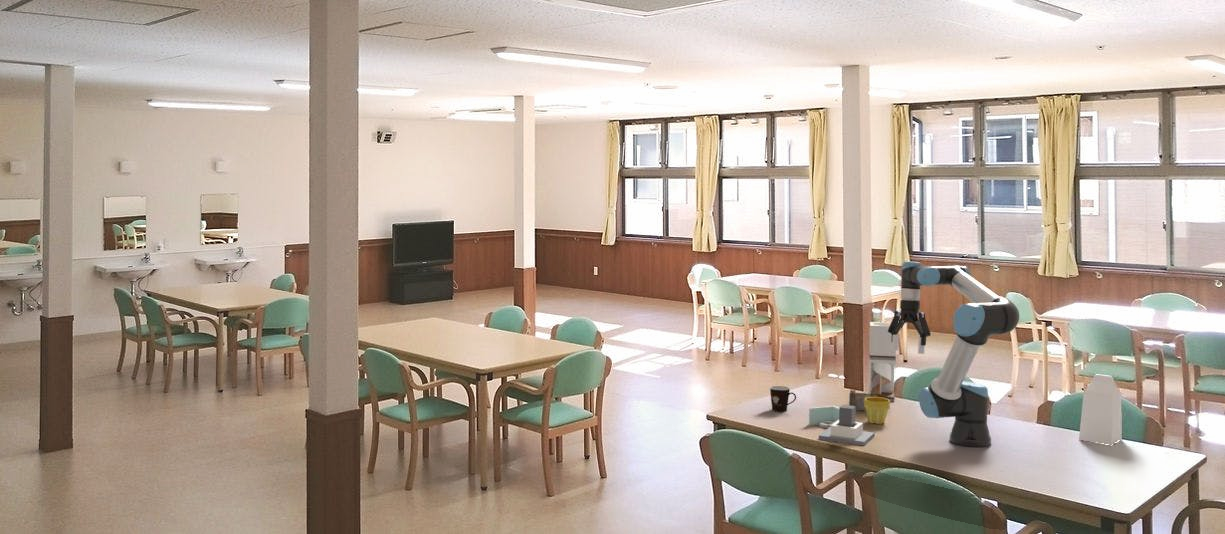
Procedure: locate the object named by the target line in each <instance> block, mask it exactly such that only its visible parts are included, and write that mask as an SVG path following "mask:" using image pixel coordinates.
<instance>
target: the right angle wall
mask: <svg viewBox="0 0 1225 534" xmlns="http://www.w3.org/2000/svg"><path fill="white" fill-rule="evenodd" d="M837 420H839V407H838V406H837V405H827V406H819V407H809V409H808V425H809V426H814V425H815V426H816V425H818V426H819V427H820V428H821V429H828V428H829V427H831V425H832V424H833V423H835V422H836V421H837Z"/></svg>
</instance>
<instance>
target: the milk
mask: <svg viewBox="0 0 1225 534" xmlns="http://www.w3.org/2000/svg"><path fill="white" fill-rule="evenodd" d="M1080 417H1081V418H1080V425H1079V435H1078V441H1081V440H1084V441H1083V442H1086V441H1091V442H1098V443H1104V444H1109V445H1112V444H1114V443H1115V442H1117V441H1118V440H1122V441H1123V439H1122V438H1123V437H1122V436H1123V435H1122V434H1123V432H1122V431H1123V428H1122V424H1123V419H1122V417H1123V416H1122V392H1121V390H1120V389H1119V387H1118V386H1117V385H1116V383H1115V380H1114V378H1113V375H1107V374H1102V373H1101V374H1100V373H1099V374H1098V373H1095V374H1094V376H1093V377H1092V378H1091V381H1090V382H1089V384H1088V385H1087V387H1086V389H1085V391H1084V392H1083V397H1082V405H1081V415H1080ZM1091 442H1090V443H1091Z"/></svg>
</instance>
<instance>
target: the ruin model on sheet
mask: <svg viewBox="0 0 1225 534" xmlns="http://www.w3.org/2000/svg"><path fill="white" fill-rule="evenodd" d="M849 391H850V392H849V395H848V397H849V402H848V404H849V405H850V406H856V409H855V411H860V410H865V411H864V412H866V407H865V406H864V399H865V398H867V397H876V394H868V393H865V392H864V393H863V392H856V390H855V389H850V390H849Z"/></svg>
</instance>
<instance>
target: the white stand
mask: <svg viewBox="0 0 1225 534" xmlns="http://www.w3.org/2000/svg"><path fill="white" fill-rule="evenodd" d="M890 324H891V322H882V321H881V322H878V321H877V322H876V321H875V322H874V321H870V322H869V351H868V354H869V355H868V356H869V357H868V384H867V385H868V389H867V391H868V392H867V394H876V397H881V398H886V399H889V400H890V401H894V402H895V394H894V393H895V392H894V388H895V387H894V386H895V365H896V361H897V360H896V358H897V357H896V356H897V351H892V341H891V340H892V334H891V333H889V332H888V329H889V326H890Z"/></svg>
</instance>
